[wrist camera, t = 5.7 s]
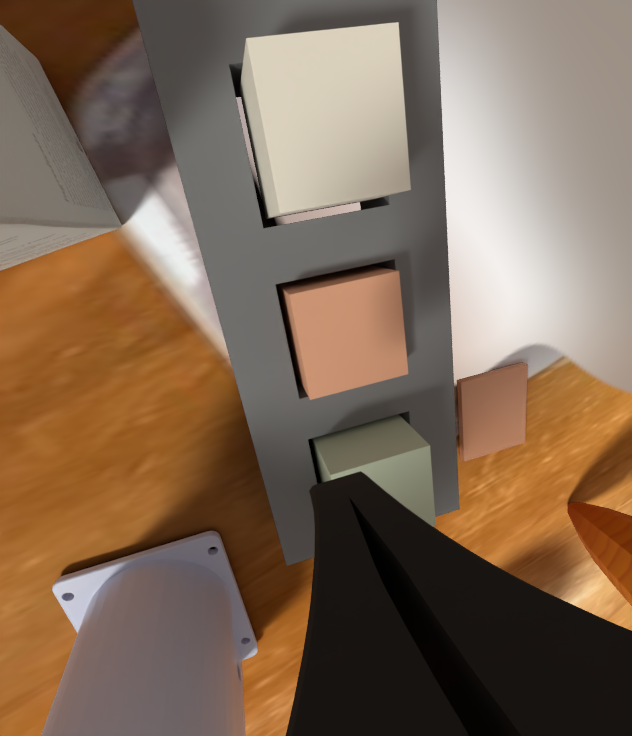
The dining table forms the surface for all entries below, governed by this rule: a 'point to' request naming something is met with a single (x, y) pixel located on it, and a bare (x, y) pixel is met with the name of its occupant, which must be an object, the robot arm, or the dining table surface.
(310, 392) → the key terracotta
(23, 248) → the small box
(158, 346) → the dining table surface
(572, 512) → the carrot
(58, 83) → the dining table surface
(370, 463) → the key sage
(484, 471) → the dining table surface
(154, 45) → the keypad
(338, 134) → the key cream
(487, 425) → the tile
